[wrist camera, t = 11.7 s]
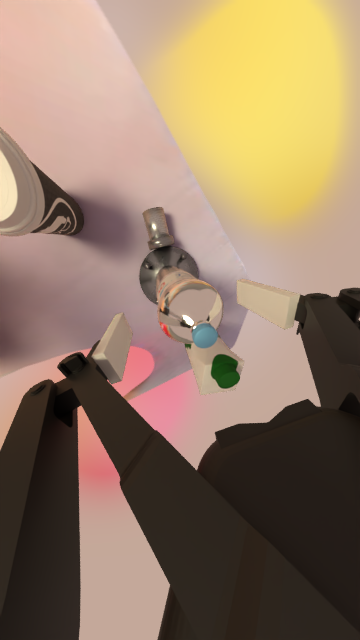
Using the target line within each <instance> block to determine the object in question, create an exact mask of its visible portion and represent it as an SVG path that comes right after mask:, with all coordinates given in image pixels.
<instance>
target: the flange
mask: <svg viewBox="0 0 360 640" xmlns="http://www.w3.org/2000/svg"><path fill="white" fill-rule="evenodd" d="M143 217H144V221H145V224H146V228H147V231H148V235H149V238H150V241H148V246H149V249H150V250H152V249H156V250H154V251H152V252H151V253H150V254H149V255H148V256H147V257H146V258H145V260H144V261H143V263H142V266H141V269H140V284H141V288H142V290H143V292H144V294H145V295H146V296H147V298H148V299H149V300H151V301H152V302H153V303H155V304H157V305H158V300H157V296H156V275H157V273H158V271H159V270H160V269H161V268H162V267H164V266H166V265H174V266H177V267H179V268H181V269H183V270H184V271H186V272H188V273H190V274H191V275H193V276H194V277H195V278H197V279H198V270H197V267H196V264H195V262H194V260H193V259H192V257H191V256H190V255H189V254H188V253H186V252H185V251H184V250H182V249H180V248H177V247H172V246H169V245H172V244H174V239H173V236H172V235H171V236H169V232H168V228H167V223H166V219H165V214H164V210H163V208H162V207H156V208H151V209H148V210H146V211H144V212H143ZM157 248H158V249H157Z"/></svg>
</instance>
